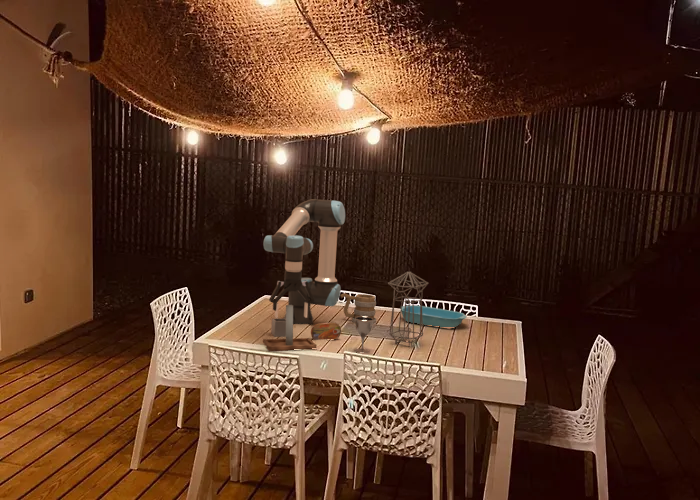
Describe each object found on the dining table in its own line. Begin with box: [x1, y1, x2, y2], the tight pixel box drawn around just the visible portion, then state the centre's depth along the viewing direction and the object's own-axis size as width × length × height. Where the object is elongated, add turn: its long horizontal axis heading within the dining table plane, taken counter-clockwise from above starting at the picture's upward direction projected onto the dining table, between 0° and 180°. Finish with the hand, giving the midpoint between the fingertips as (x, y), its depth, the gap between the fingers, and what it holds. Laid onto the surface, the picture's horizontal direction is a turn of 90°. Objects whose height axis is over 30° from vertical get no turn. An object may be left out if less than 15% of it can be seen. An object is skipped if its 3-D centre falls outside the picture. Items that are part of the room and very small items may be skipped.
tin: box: [310, 322, 342, 341], centre depth 313 cm, size 15×3×8 cm, turn 117°
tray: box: [262, 337, 318, 352], centre depth 298 cm, size 22×13×2 cm, turn 110°
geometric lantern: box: [387, 271, 430, 348], centre depth 314 cm, size 16×16×35 cm
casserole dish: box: [401, 304, 467, 328], centre depth 362 cm, size 37×22×7 cm, turn 65°
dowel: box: [285, 304, 294, 346], centre depth 297 cm, size 3×3×18 cm
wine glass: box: [354, 316, 374, 354], centre depth 298 cm, size 8×8×15 cm
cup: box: [270, 317, 286, 338], centre depth 314 cm, size 7×7×8 cm
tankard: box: [339, 292, 377, 325], centre depth 356 cm, size 20×13×15 cm, turn 88°
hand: (290, 317), depth 296 cm, fingers open, 13 cm apart
